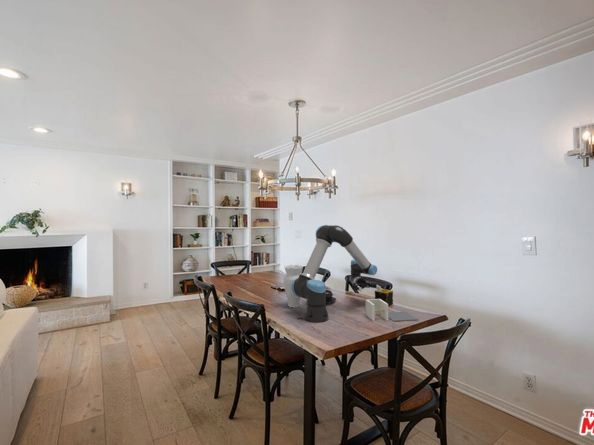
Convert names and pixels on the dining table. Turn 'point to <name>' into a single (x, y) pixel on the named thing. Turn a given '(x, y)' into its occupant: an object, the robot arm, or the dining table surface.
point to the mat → (401, 316)
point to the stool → (376, 308)
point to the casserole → (329, 297)
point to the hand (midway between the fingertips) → (370, 289)
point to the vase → (290, 276)
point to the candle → (385, 296)
